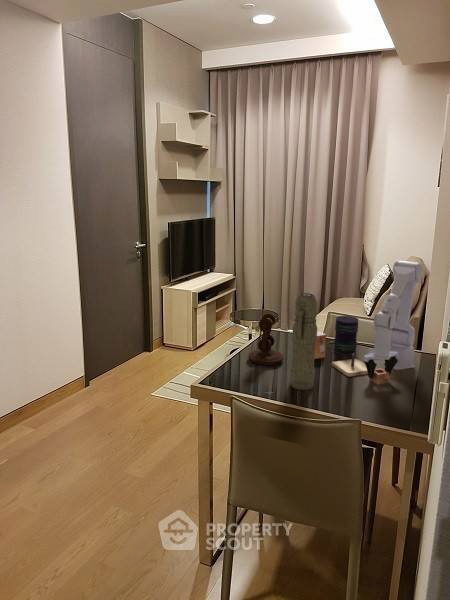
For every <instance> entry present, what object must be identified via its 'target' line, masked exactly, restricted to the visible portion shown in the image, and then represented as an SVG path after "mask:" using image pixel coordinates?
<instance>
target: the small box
mask: <svg viewBox="0 0 450 600" xmlns="http://www.w3.org/2000/svg"><path fill="white" fill-rule="evenodd" d="M326 343H327V334H325V333H323V332H321V331H320V330H317V342H316V344H315V354H314V360H316V359H323V358H325V356H326V346H327V345H326Z"/></svg>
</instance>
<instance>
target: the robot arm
mask: <svg viewBox="0 0 450 600" xmlns="http://www.w3.org/2000/svg"><path fill="white" fill-rule="evenodd" d="M423 271H424V267H423V264H422V262H420V261H418V262H416V261H408V260H400V259H397V260H396V261H394V263H393V267H392V273H393V277H394V278H393V282H392V286H391V290H390V292H389V294H387V295H385V297H384V300H383V303H382V304H381V307H380V310H379V311H378V312H376V313H375V314H374V315H375V316H374V319H373V325H374V330H373V331H375V334H374V342H373V343H374V344H373V345H374V346H373V352H370V353H367V354H364V355H363V358H362V361H363V363H364V364H365V365H366V368H367V372H368V374H367V378H368V379H369V378H371V379H373V377H374V371H375V369H377V368H376V367H377V366H378V364H377V363H376V362H375V361H377V360H384V361H383V364H384V370H385V371H387V372H389V377H390V376H391V373H392V371H393V369H394V370H396V371H398V370H399V371H400V370H406V369H411V368H415V365H414V364H415V363H414V360H415V355H416V354H415V348H414V346H413V345H414V343H415V339H416V329H415V327H414V326H412V324H411V323H410V320H411V318H410V317H411V313H412V306H413V300H414V295H415V289H416V286H417V284H419V283H421V281H422V276H423Z"/></svg>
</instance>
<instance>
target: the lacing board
mask: <svg viewBox="0 0 450 600" xmlns="http://www.w3.org/2000/svg"><path fill="white" fill-rule="evenodd" d="M331 366H332V367H333V368H334V369H336V370H337V371H339V372H340V373H342V374H343V375H345V376H346V377H349V378H350V377H354V376H356V377H357V376H361V375H368V372H367V368H366V365H365V363H364V361H363V362H362V360H359V359H358V358H356V353H354V354H351V359H344V360H337V361H332V362H331Z"/></svg>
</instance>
